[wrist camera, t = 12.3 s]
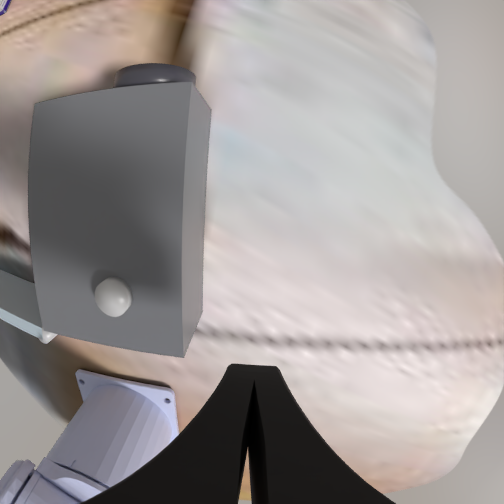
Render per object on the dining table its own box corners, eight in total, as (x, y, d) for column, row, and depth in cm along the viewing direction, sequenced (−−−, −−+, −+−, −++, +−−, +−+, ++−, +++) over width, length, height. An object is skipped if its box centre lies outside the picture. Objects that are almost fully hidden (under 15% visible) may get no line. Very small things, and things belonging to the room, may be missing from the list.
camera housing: (202, 312, 18) (180, 365, 12) (85, 297, 18) (37, 335, 12) (213, 89, 15) (192, 49, 9) (87, 99, 15) (31, 78, 9)
